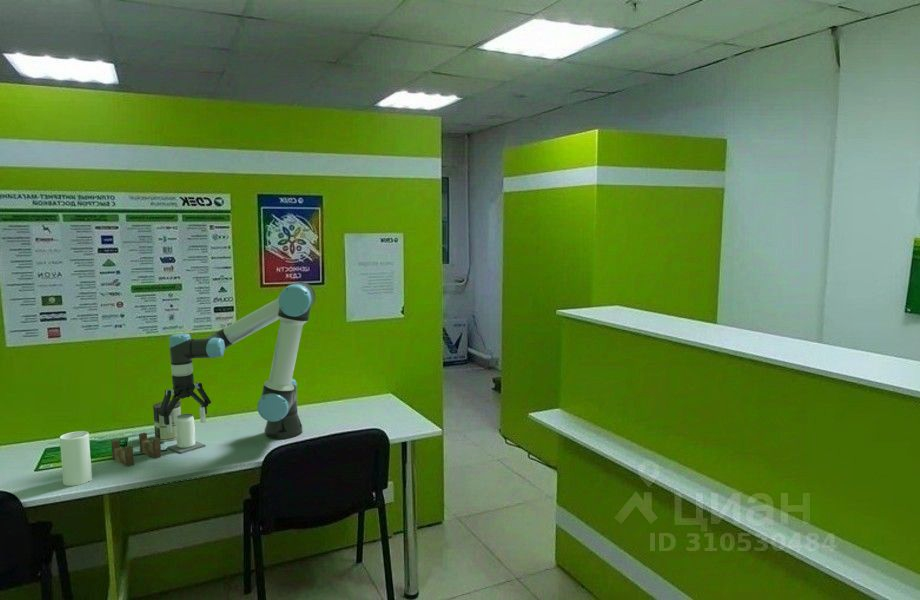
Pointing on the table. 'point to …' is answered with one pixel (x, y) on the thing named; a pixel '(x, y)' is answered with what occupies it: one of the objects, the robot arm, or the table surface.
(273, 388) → the robot arm
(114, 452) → the brown cradle stand
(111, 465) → the table surface
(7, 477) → the table surface
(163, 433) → the coffee can
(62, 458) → the cup
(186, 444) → the can
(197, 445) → the pad
